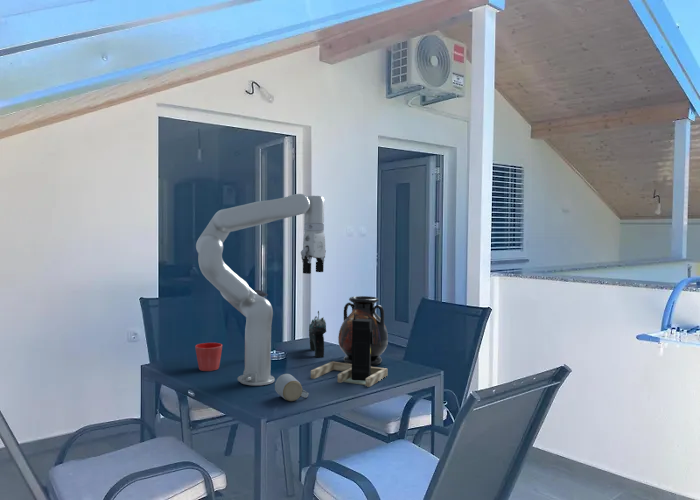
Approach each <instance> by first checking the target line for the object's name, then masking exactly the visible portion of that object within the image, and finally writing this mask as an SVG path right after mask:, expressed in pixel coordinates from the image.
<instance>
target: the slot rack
mask: <svg viewBox="0 0 700 500" xmlns="http://www.w3.org/2000/svg"><path fill="white" fill-rule="evenodd" d="M351 370H352V364H348V363H346V362H339V361H329V362H328V363H325V364H323V365H320V366H318V367H315V368H313V369H311V370H310V379H314V380H315V379H317V378H320V377H322V376H323V375H325V374H328V373H330V372H332V371H338V372H339V371H340V372H339V373H338V374H337V383H349V384H355V385H361V386H362V385H363V386H365V387H366V386H367V388H370V387H372V386H374V385H375V384H377V383H378V381H379V382H380V381H382V380H384V379H385V378H387V377H388V371H389V370H388V368H386V367H385V368H384V367H378V366H371V376H369V377H367V378H366V381H364V380H352V373H351ZM386 376H387V377H386ZM384 377H385V378H384ZM383 378H384V379H383ZM381 379H382V380H381Z"/></svg>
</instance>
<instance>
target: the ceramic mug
mask: <svg viewBox="0 0 700 500" xmlns="http://www.w3.org/2000/svg"><path fill="white" fill-rule="evenodd" d="M274 382H275V383H274V390H275V392H276V393H277V395H279V396H280V397H281V398H283V399H284V400H285V401H287V402H295V401H297V400H299V398H300V397H302V398H304V399H306V398H308V397H309V392H308V391H306V390H304V388H303V385H302V384H301V382H300V381H299V380H298V379H296V378H295V376H293V375H292V374H290V373H284V374H281V375H280V376H278V377H277V378H276V380H275V381H274Z"/></svg>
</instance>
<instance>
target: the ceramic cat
mask: <svg viewBox="0 0 700 500" xmlns="http://www.w3.org/2000/svg"><path fill="white" fill-rule="evenodd" d="M317 314H318V316H317V315H316V316H314V318H313V319H312V320H311V323H309V327H308V337H309V349H310V351H314V357H315V358H324V357H325V354H324V353H325V335H324V334H325V333H327V323H326V319H324V316H323V317H321V318H320V310H318V311H317Z"/></svg>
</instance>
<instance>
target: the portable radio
mask: <svg viewBox="0 0 700 500" xmlns="http://www.w3.org/2000/svg"><path fill="white" fill-rule="evenodd" d="M355 314H356V313H354V319H353V321H352V370H351V373H352V380H364V381H366V378H367V377H369V376H371V367H372V366H371V344H372V345H373V330H372V331H371V325H372V320H371V319H356V318H355Z"/></svg>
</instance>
